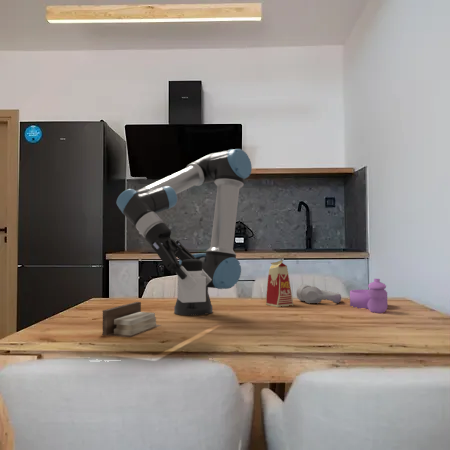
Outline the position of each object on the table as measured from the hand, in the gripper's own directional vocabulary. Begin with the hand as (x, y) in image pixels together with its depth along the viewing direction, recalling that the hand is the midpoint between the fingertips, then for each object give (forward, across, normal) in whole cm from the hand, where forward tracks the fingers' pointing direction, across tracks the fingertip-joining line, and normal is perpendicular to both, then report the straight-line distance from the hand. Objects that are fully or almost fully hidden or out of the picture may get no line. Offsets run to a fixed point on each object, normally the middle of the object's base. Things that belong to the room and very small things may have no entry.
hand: (201, 284), depth 118 cm
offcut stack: (-5, -1, -26) cm, 27 cm away
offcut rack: (-5, -1, -28) cm, 28 cm away
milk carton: (+15, -71, -7) cm, 73 cm away
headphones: (+26, -86, +4) cm, 90 cm away
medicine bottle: (+1, 0, -6) cm, 6 cm away
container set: (+43, -75, +20) cm, 89 cm away
